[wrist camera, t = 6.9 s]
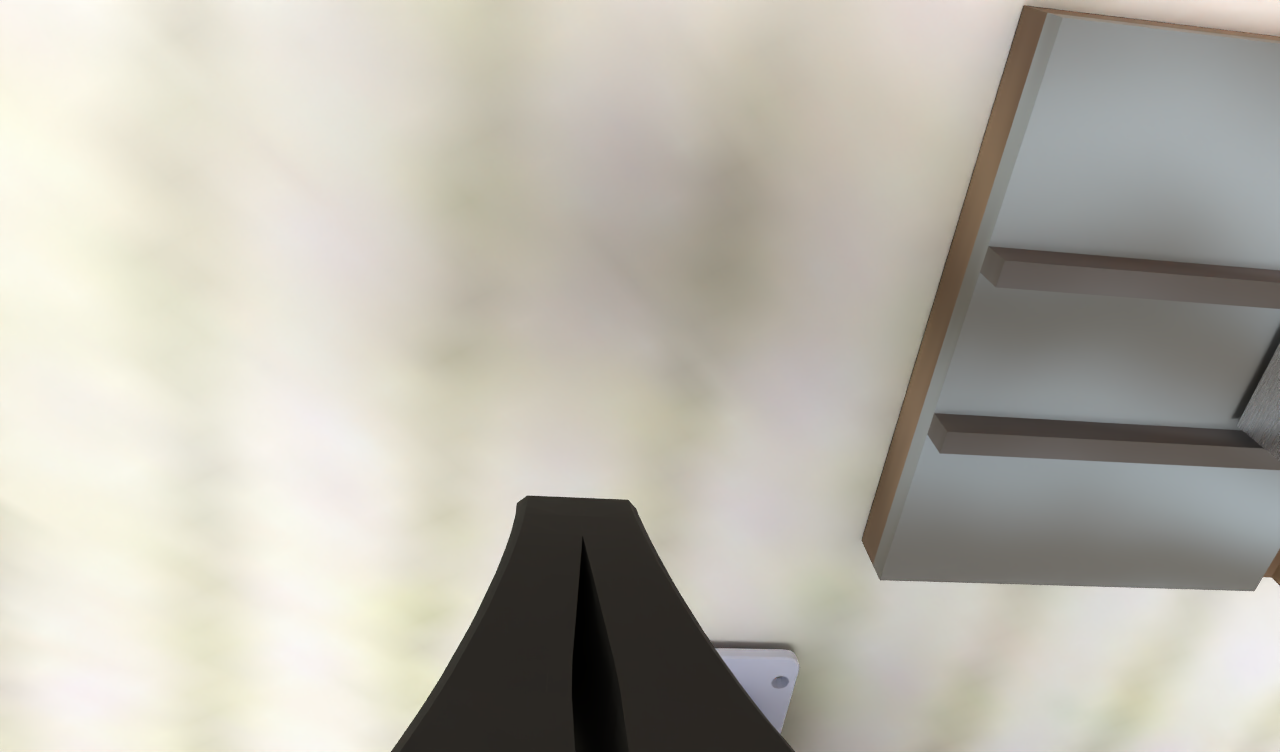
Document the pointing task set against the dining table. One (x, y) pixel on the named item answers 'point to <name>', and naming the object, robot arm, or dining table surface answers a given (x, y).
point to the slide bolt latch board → (1101, 324)
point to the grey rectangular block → (1265, 409)
